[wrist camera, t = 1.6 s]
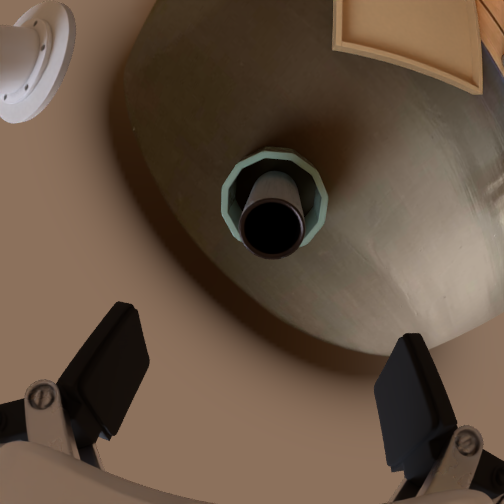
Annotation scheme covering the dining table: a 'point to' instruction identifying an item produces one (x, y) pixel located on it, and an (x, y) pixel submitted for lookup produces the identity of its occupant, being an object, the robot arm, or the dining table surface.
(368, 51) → the tray
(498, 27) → the dining table surface
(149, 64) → the dining table surface
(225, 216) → the sleeve
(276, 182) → the grey cylinder
